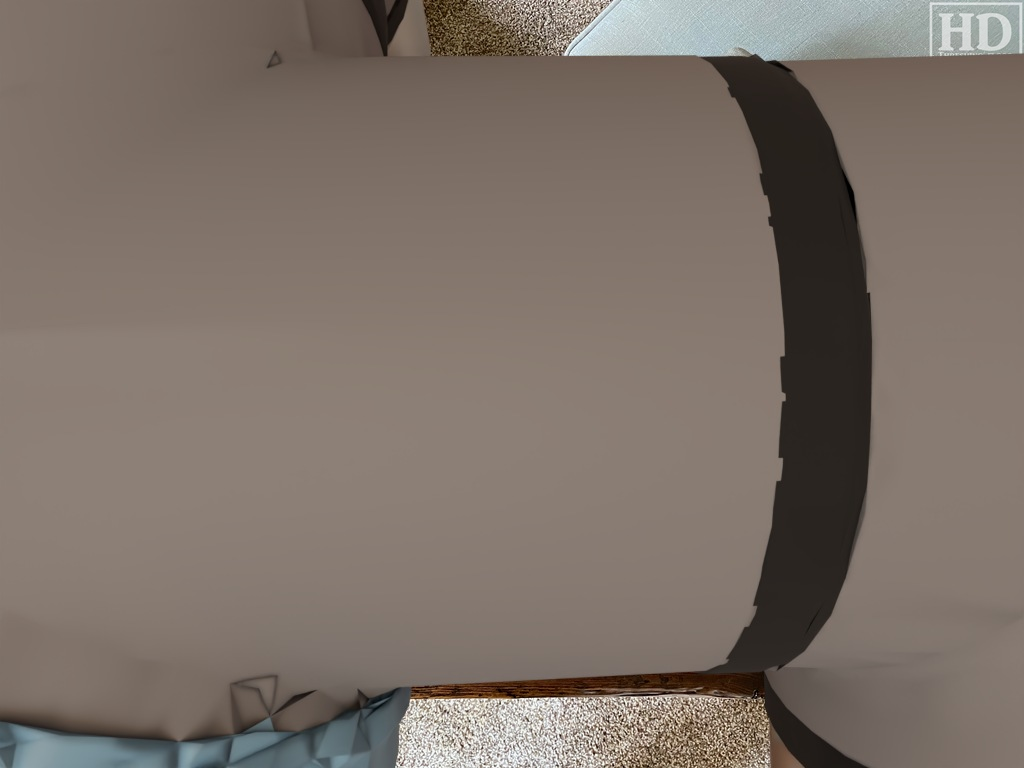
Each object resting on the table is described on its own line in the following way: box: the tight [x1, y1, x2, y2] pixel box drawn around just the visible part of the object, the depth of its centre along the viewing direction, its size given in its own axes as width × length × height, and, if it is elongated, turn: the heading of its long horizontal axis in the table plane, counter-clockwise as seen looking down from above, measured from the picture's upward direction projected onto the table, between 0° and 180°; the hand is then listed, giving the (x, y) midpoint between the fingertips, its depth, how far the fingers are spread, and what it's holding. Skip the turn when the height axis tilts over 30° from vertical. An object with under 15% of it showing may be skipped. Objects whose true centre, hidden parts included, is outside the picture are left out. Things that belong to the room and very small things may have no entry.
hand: (402, 269), depth 41 cm, fingers closed on decorated donut, 11 cm apart
